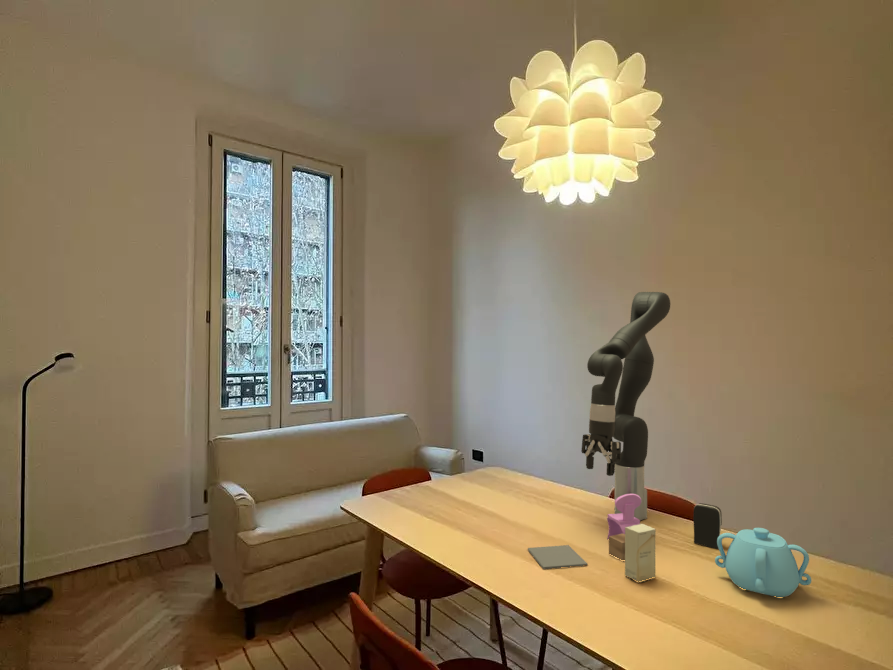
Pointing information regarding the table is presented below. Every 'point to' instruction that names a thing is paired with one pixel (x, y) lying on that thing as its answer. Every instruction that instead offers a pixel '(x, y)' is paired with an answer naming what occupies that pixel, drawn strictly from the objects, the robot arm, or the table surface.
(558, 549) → the coaster
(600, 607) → the table surface
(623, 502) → the toy chair
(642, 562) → the skincare box
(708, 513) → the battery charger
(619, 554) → the walnut block
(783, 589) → the decorative pot
